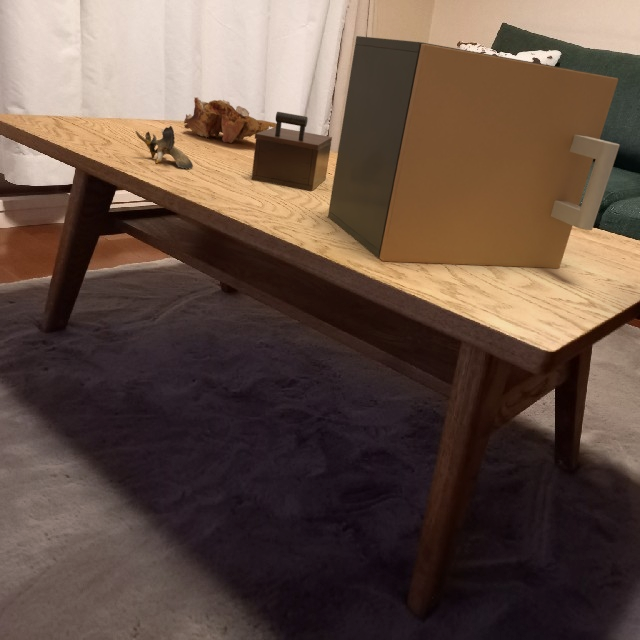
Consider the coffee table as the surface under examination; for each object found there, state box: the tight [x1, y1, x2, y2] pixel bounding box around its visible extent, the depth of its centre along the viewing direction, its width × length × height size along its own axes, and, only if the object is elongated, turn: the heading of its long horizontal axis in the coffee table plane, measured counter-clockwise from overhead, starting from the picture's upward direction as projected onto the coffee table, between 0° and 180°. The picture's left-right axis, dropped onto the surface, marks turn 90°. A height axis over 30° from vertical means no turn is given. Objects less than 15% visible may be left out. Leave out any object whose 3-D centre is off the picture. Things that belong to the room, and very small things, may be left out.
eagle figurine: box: [135, 125, 194, 169], centre depth 109 cm, size 8×7×9 cm
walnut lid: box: [254, 111, 333, 150], centre depth 109 cm, size 13×11×5 cm
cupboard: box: [327, 35, 612, 259], centre depth 84 cm, size 18×26×24 cm
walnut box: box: [251, 139, 332, 192], centre depth 112 cm, size 13×11×7 cm
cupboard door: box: [379, 44, 621, 269], centre depth 73 cm, size 7×26×24 cm, turn 109°
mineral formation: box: [183, 97, 277, 144], centre depth 140 cm, size 23×16×10 cm
